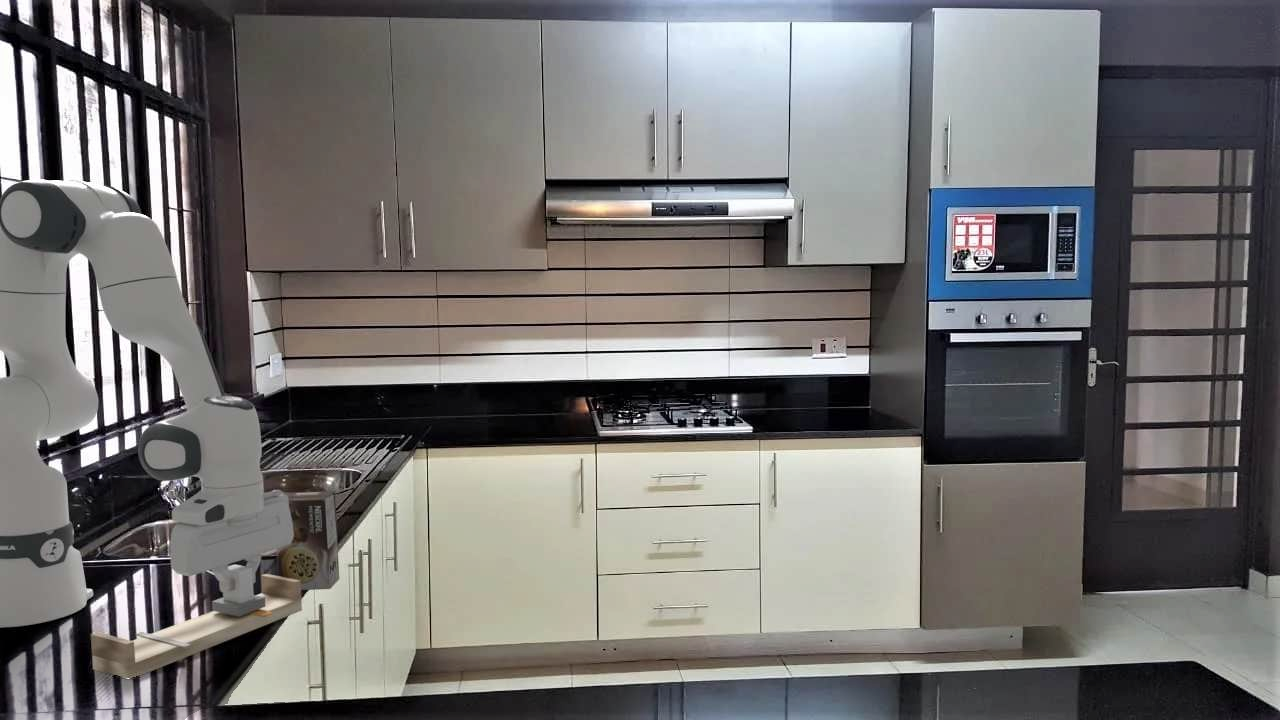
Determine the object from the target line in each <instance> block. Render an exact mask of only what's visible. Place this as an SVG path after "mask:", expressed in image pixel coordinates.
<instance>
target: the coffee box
mask: <svg viewBox="0 0 1280 720" xmlns="http://www.w3.org/2000/svg"><path fill="white" fill-rule="evenodd" d="M284 493H285V494H286V495H287V496H288V501H289V509H290V513H291V518H292V524H293V532H294V538H293V540H292V542H291V544H290V545H287V546H284V547H280V548H277V549H276V555H277V557H276V559H277V573H278V575H277V576H280V577H285V578H291V579H296V580H301V591H310V590H311V591H312V590H313V591H315V590H317V591H318V590H331V589H332V588H333V586H335V584H337V582H338V581H339V580H340V566H339V546H338V525H337V511H336V510H337V508H336V507H337V506H336V491H334V490H332V491H330V490H329V491H303V492H301V491H300V492H284Z"/></svg>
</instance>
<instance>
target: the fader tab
mask: <svg viewBox="0 0 1280 720" xmlns="http://www.w3.org/2000/svg"><path fill="white" fill-rule="evenodd" d="M225 572H226V574H227V576H228V577H229V578H230V579H235V585H234V586H235V590H232V591H230V592H227V593H224V592H222V596H223V597H219V598H218V599H215V600H212V601H211V606H212V607H211V609H212V611H216V612H220V613H225V614H229V615H234V616H238V617H239V616H242V615H245V614H247V613H250V612H252V611H255V610H258V609H260V608H263V607H265V597H261V596H257V595H258V594H254V583H253V573H252V568H251V567H246V565H245V566H244V565H240V564H230V565H228V571H225ZM212 611H211V612H212Z"/></svg>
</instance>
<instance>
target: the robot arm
mask: <svg viewBox="0 0 1280 720" xmlns="http://www.w3.org/2000/svg"><path fill="white" fill-rule="evenodd" d="M165 241H166V240H165V239H164V237H163V234H162V232H161V230H160V228H159V226H158V224H157V223H156V222H155V221H154V220H153V219H152V218H150V217H148V215H147V216H146V215H144V214H142V210H141V208H140V206H139V204H138V202H137V201H136V199H135V198H134V197H132V196H131V195H130V193H129V194H128V193H127V192H125V191H123V190H122V189H119V188H117V187H114V186H111V185H107V184H95V183H93V182H87V181H82V180H46V179H42V178H41V179H40V178H39V179H29V180H23V181H19V182H16V183H14V184H12V185H10V186H9V187H7V188H6V190H4V191H3V193H2V194H1V197H0V351H1V352H3V354H4V356H5V357H6V359H7V363H8V366H9V376H5V377H0V628H14V627H23V626H30V625H36V624H41V623H46V622H51V621H54V620H57V619H60V618H61V619H62V618H64V617H67V616H70V615H72V614H74V613H77V612H79V611H81V610H82V609H83V608H85V607H86V606H87V601H88V600H89V599H91V598H92V597H94V590H93V589H92V588H87V585H86V584H87V583H86V577H85V573H84V572H85V570H84V566H83V560H82V555H81V552H80V550H78V549H76V548H75V547H73V544H74V542H75V540H74V536H75V532H74V531H75V530H74V528H73V526H74V525H73V522H72V521H70V515H69V514H70V513H69V501H68V500H69V499H68V483H67V479H66V477H65V475H64V474H63V473H62V472H61V471H60V470H58V469H56V468H54V467H52V466H49V465H47V464H46V463H45V462H44V461H43V458H42V457H41V455H40V453H39V450H38V445H37V442H38V441H44V440H48V439H54V438H58V437H63V436H67V435H70V434H71V433H74V432H76V431H78V430H81V429H82V428H84V427H86V426H88V425H90V424H91V423H92V421H94V419H95V417H96V415H97V413H98V410H99V396H98V393H97V390H96V388H95V386H94V384H93V383H92V381H91V380H89V378H87V377H86V376H84V375H83V373H81V372H80V371H79V369H77V367H76V365H75V363H74V361H73V359H72V356H71V354H70V351H69V347H68V343H67V337H66V336H67V335H66V333H67V332H66V306H67V305H66V300H67V297H66V296H67V269H68V265H69V262H70V261H71V260H72V258H73V257H75V256H76V255H78V254H81V255H82V256H84V257H85V258H87V260H88V261H89V263H90V264H91V266H92V270H93V272H94V276H95V281H96V286H97V290H98V294H99V297H100V301H101V302H100V303H101V308H102V309H103V313H104V315H105V316H106V319H107V321H108V323H109V325H110V327H111V328H112V329H113V331H115V332H116V333H117V334H119V335H120V336H121V337H123V338H125V339H126V340H128V341H129V342H132V343H135V344H138V345H141V346H144V347H147V348H148V349H150V350H152V351H154V352H155V353H158V354H159V355H160V356H161V357H163V358H164V359H165V360H166V362H167V363H168V364H169V366H170V367H171V369H172V371H173V374H174V377H175V379H176V381H177V384H178V387H179V390H180V393H181V395H182V398H183V401H184V403H185V406H186V411H184V412H182V413H180V414H177V415H174V416H172V417H169V418H166V419H162V420H160V421H158V422H155V423H154V424H151V425H150V426H147V427H146V428H145V430H143V432H142V434H141V435H140V438H139V441H138V446H137V455H138V459H139V462H140V464H141V466H142V468H143V469H144V470H145V472H146V473H147V474H148V475H149V476H151V477H152V478H154V479H155V480H158V481H161V482H169V481H170V482H175V481H181V480H184V479H187V478H191V477H196V478H199V480H200V482H201V483H200V484H201V486H200V487H201V490H199V491H198V492H197V493H195V494H194V495H193V496H191V497H190V498H188V499H186V500H185V501H183V502H181V503H180V504H177V506H175V507H174V508H173V509H172V511H171V518H172V519H171V520H172V521H173V522H176V525H174V527H173V528H172V531H171V534H170V547H169V548H170V549H169V550H170V551H169V552H170V566H171V569H172V570H173V571H174V572H175V574H178V575H180V576H186V577H193V576H195V575H199V574H202V573H205V572H207V571H211V572H212V574H213V575H214V577H215V578H216V579H217V581H218V584H219V591H220V592H221V593H223V592H224V593H227V592H230V591H232V590H235V586H234V585H235V579H230V578H229V577H228V576H227V574H226V572H225V571H228V566H229V565H231V564H233V563H236V562H240V561H243V560H244V561H247V562H246V565H245V566H246V567H251V568H252V573H253V584H254V583H256V572H257V570H258V567H259V566H260V564H261V561H262V554H264V553H265V554H266V553H267V552H271V551H273V550H274V551H275V550H277V548H280V547H284V546H287V545H290V544H291V542H292V540H293V538H294V532H293V524H292V518H291V513H290V509H289V501H288V496H287V495H286V494H285V493H286V492H284V491H282V490H281V489H274V490H272V491H267V492H264V491H265V490H264V478H263V473H262V470H261V466H260V462H261V457H262V453H263V452H262V451H263V449H262V447H263V446H262V435H261V426H260V420H259V416H258V412H257V410H256V408H255V407H256V406H255V405H254V404H253V403H252V402H251V401H249V400H248V399H246V398H242V397H238V396H234V395H226V393H225V390H224V387H223V384H222V381H221V378H220V376H219V374H218V370H217V368H216V365H215V363H214V359H213V357H212V354H211V351H210V349H209V346H208V344H207V341H206V339H205V337H204V334H203V332H202V330H201V328H200V325H198V323H197V322H196V320H195V319H194V317H193V316H192V315H191V313H190V311H189V308H188V306H187V303H186V301H185V298H184V297H183V294H182V291H181V287H180V284H179V280H178V276H177V273H176V269H175V265H174V263H173V258H172V255H171V253H170V251H169V248H168V245H167V244H166V242H165Z"/></svg>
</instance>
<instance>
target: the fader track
mask: <svg viewBox="0 0 1280 720" xmlns="http://www.w3.org/2000/svg"><path fill="white" fill-rule="evenodd" d="M260 580H261V593H259V594H256V595H257V596H261V597H265V607H263V608H260V609H258V610H255V611H252V612H250V613H247V614H245V615H242V616H239V617H238V616H234V615H229V614H225V613H220V612H216V611H209V612H207V613H205V614H201V615H199V616H195V617H193V618H190V619H188V620H185V621H183V622H179V623H177V624H175V625H171V626H168V627H166V628H163V629H161V630H158V631H155V632H152V633H148V632H145V631H141V632H137V633H135V636H136V637H139V638H136V639H133V640H129V639H125V638H122V637H117V636H114V635H110V634H106V633H103V632H99V631H96V632H94V633H90V641H91V642H90V643H91V644H90V645H91V657H92V660H91V661H92V670H95V671H98V672H102V673H105V674H108V675H111V674H112V675H111V676H114V675H118V676H121V677H125V678H133V677H135V678H137V677H136V676H138V677H140V676H143V675H145V674H147V672H148V673H150V672H152V671H155V670H157V669H160V668H162V667H165V666H167V665H170V664H172V663H175V662H177V661H180V660H183V659H185V658H188V657H189V656H192V655H195V654H197V653H199V652H200V653H201V652H202V651H204V650H208V649H209V648H212V647H214V646H217V645H220V644H222V643H224V642H227V641H230V640H233V639H235V638H237V637H240V636H242V635H244V634H247V633H249V632H252V631H254V630H257V629H259V628H262V627H264V626H267V625H269V624H271V623H274V622H277V621H278V620H279V621H280V620H281V619H284V618H286V617H289V616H291V615H294V614H296V613H299V612H301V611H302V610H303V603H302V590H301V580H296V579H291V578H285V577H280V576H278V575H275V574H268V573H265V574H261V579H260ZM142 674H143V675H142ZM139 675H140V676H139ZM118 676H117V677H118ZM121 677H120V678H121ZM125 678H124V679H125ZM133 679H134V678H133Z"/></svg>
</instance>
